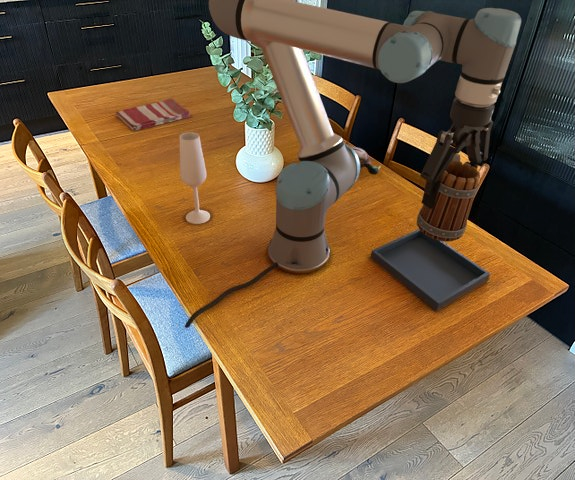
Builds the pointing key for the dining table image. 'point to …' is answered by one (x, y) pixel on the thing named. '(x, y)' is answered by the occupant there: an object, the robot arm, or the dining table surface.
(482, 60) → the robot arm
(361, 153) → the decorative duck model
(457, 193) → the mug
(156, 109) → the dish towel
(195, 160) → the champagne flute
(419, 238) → the tray
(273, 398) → the dining table surface
